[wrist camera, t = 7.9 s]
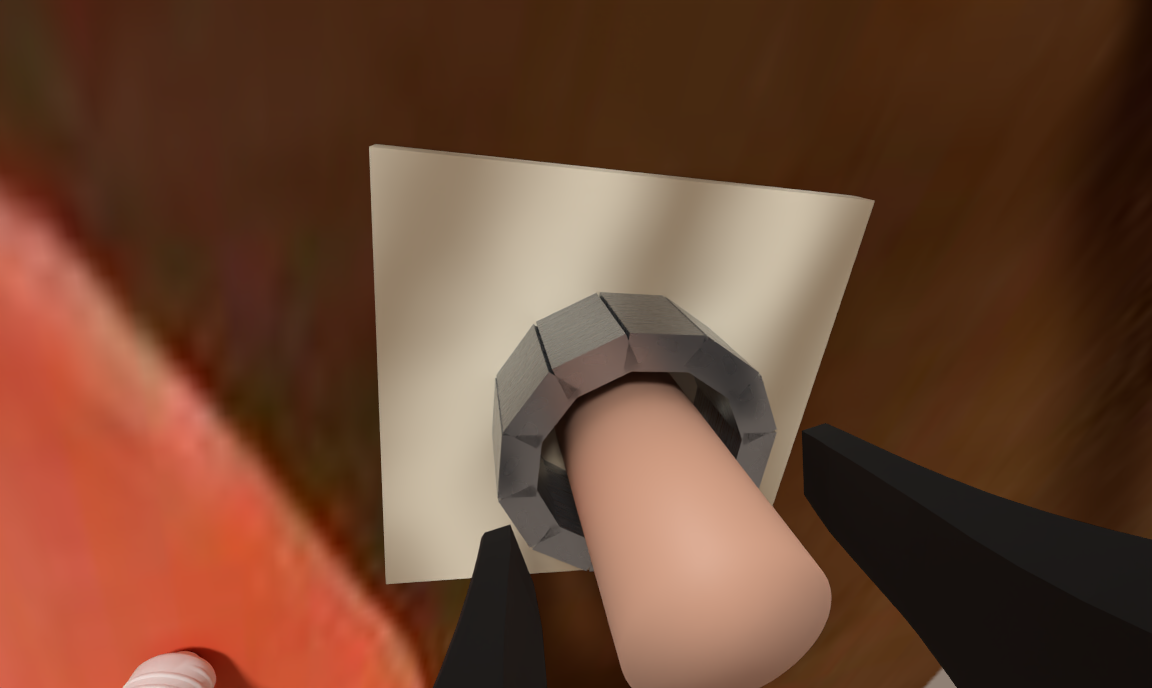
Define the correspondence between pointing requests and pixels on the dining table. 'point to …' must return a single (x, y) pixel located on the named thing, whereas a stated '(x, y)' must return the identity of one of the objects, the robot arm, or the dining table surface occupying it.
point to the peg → (685, 543)
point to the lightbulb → (173, 672)
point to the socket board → (547, 258)
